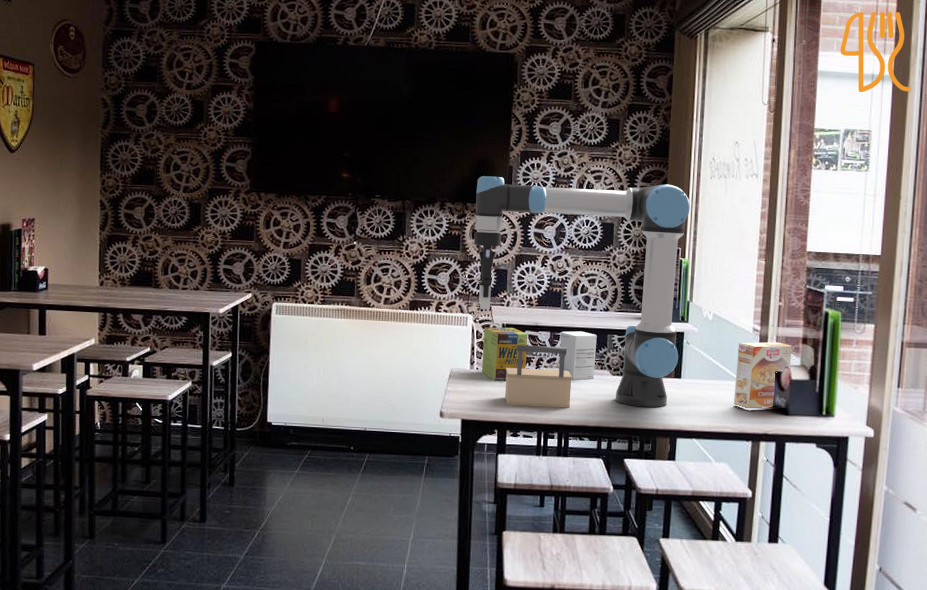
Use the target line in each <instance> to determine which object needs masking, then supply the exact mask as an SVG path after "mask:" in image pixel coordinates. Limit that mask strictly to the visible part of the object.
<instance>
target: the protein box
mask: <svg viewBox="0 0 927 590" xmlns="http://www.w3.org/2000/svg"><path fill="white" fill-rule="evenodd" d="M517 345H526V346H528V333H525V332H523V331H522V330H519V329H517V328H514V327H493V326H492V327H490V326H489V327H484V331H483V345H482V346H483V348H482V364H481V365H482V366H481V367H482V369H481V373H483V374H484V375H486V376H488V377H489V378H490V379H492V380H493V381H498V382H500V381H501V382H503V381H504V382H506V374H507V372H506V368H517V364H518V351H517ZM526 363H527V352H523V356H522V369H526V367H527V366H526Z"/></svg>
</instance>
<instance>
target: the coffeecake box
mask: <svg viewBox="0 0 927 590" xmlns="http://www.w3.org/2000/svg"><path fill="white" fill-rule="evenodd" d="M792 347H793V346H792V345H790V344H787V343H783V342H782V343H781V342H774V341H773V342H739V343H738V351H737V364H736V374H735V386H734V387H735V388H734V397H733V398H734V399H733V405H734V404H735V405H739V406H742V407H745V408H762V407H771V406H772V405H773V398H774V381H775V371H781V370H783V368H784V367H785V366H786V365H790V366H791V359H792V358H791V357H792ZM776 373H777V372H776Z"/></svg>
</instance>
